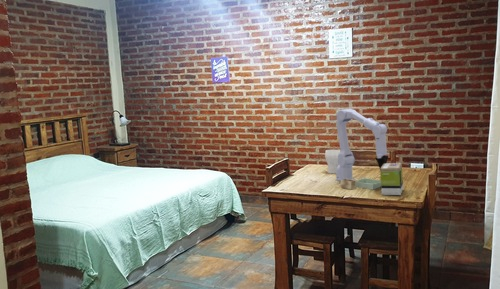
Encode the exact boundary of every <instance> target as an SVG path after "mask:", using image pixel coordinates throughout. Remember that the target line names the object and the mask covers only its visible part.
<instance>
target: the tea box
mask: <svg viewBox="0 0 500 289" xmlns="http://www.w3.org/2000/svg"><path fill="white" fill-rule="evenodd" d="M379 173H380V174H379V175H380V181H381V187H380V189H381V195H382V196H401V195H402V192H403V190H404V178H403V177H404V176H403V164H402V162H390V163H388V162H387V163H384V164H383V165H382V167H381V168H379Z"/></svg>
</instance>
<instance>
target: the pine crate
mask: <svg viewBox="0 0 500 289" xmlns="http://www.w3.org/2000/svg"><path fill="white" fill-rule="evenodd" d="M356 180H357V179H355V180H350V179H343V180H341V181H340V189H344V190H350V191H351V190H354V189H357V187H356Z"/></svg>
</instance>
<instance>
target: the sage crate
mask: <svg viewBox="0 0 500 289" xmlns="http://www.w3.org/2000/svg"><path fill="white" fill-rule="evenodd" d="M355 180H356V188H362V189H366V190H372V191H373V190H377V189H381V179H372V178H366V177H363V178H360V179H355Z"/></svg>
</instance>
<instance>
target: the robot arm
mask: <svg viewBox="0 0 500 289" xmlns="http://www.w3.org/2000/svg"><path fill="white" fill-rule="evenodd" d="M335 115H336V128H337V130H336V131H337V137H338V143H339V150H340V153H339V154H338V167H337V169H336V173H335V174H336V177H335V181H339V182H341V180H343V179H350V180H356V179H354V178H353V167H354V164H355V161H356V158H355V156H354V152H352V150H350V149H351V148H350V144H349V137H348V131H347V124H348V123H349V122H350V121H352V119H353V120H356V121H357V122H359V123H362V124H363V127H365V128H367V129H368V130H370V131H372V133H373V135H374V139H375V140H374V141H375V152H376V153H375V154H376V155H375V156H377V157H375V161H376V162H377V165H378V168H379V169H380V168H381V167H382V165H383V164H384V163H388V162H387V161H388V158H389V155H390V152H388V150H387V137H386V136H387V134H386V133H387V132H388V126H387V125H386V124H385V123H380V122H379V121H376V120H374V118H373V117H368V118H367V117H365V116H364V115H362V114H361V113H359V112H357V111H356V110H355V109H353V108H346V109H345V108H344V109H339V110H338V111H337V112H336V114H335Z"/></svg>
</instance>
